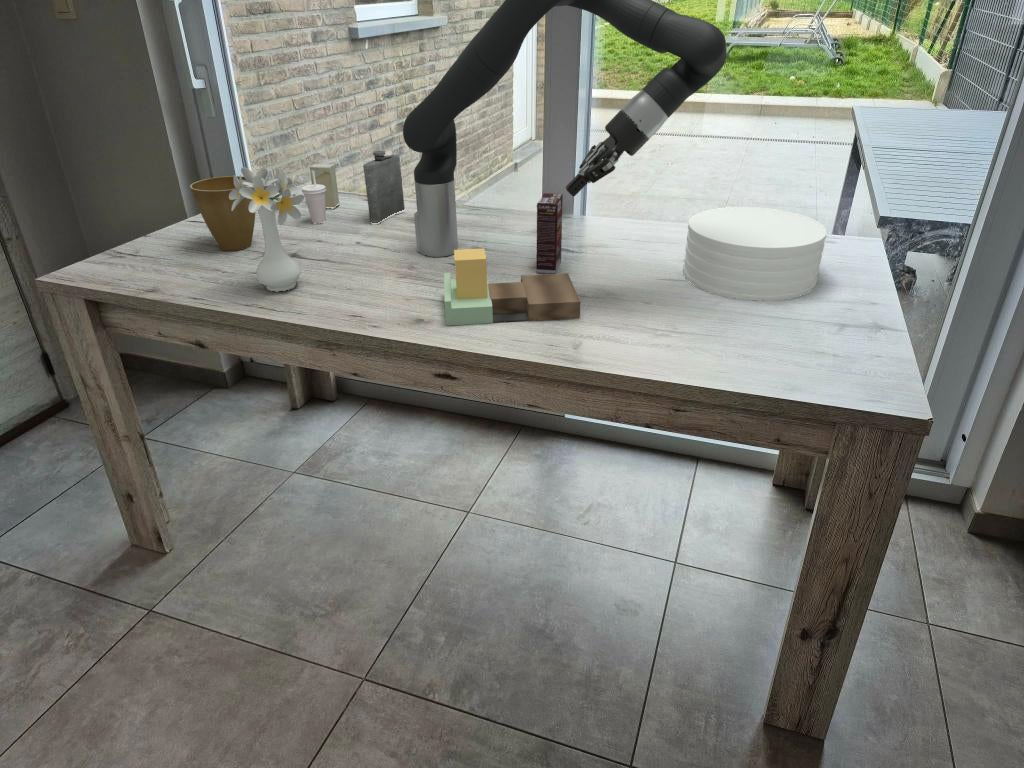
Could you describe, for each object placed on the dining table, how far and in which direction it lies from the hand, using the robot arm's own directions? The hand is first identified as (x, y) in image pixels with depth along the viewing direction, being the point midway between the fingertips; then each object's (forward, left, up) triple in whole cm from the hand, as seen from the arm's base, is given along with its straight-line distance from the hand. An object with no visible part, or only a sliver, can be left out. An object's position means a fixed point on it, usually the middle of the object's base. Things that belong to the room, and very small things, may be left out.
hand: (569, 192), depth 135 cm
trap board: (-5, -6, -22) cm, 23 cm away
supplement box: (-10, +15, -22) cm, 29 cm away
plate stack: (+32, +27, -22) cm, 48 cm away
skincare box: (-89, +36, -22) cm, 99 cm away
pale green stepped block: (-16, -13, -22) cm, 30 cm away
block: (-16, -12, -18) cm, 27 cm away
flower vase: (-59, -18, -22) cm, 66 cm away
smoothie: (-82, +23, -22) cm, 88 cm away
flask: (-67, +34, -22) cm, 78 cm away
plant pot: (-89, -1, -22) cm, 92 cm away
